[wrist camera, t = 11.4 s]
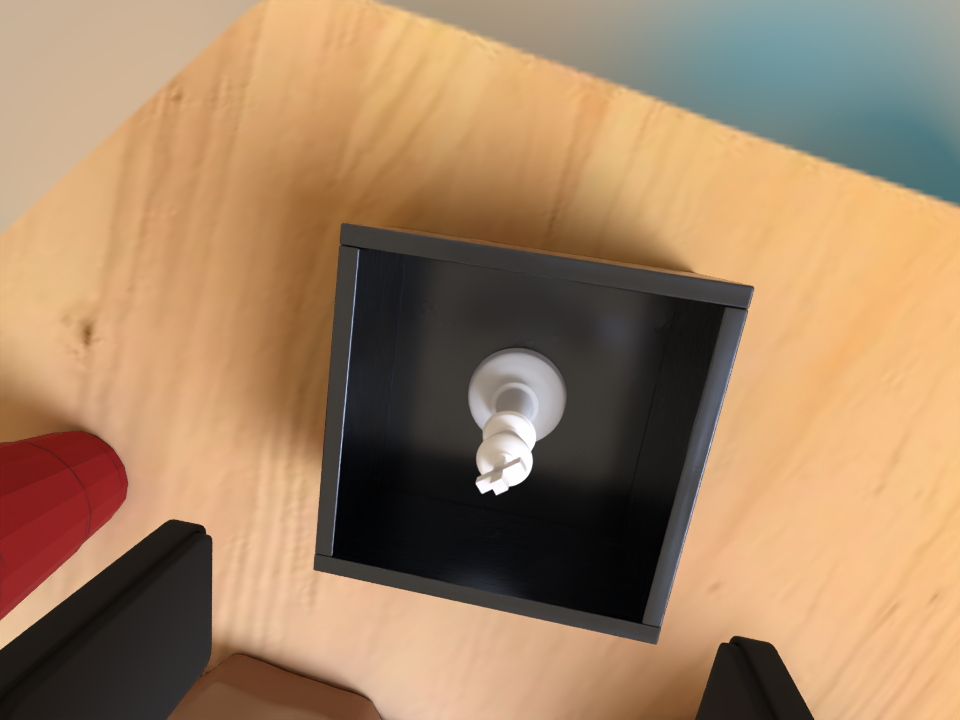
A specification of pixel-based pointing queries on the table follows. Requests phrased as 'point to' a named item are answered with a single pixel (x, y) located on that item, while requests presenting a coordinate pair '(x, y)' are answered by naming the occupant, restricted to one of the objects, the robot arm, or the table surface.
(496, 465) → the chess piece
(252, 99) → the table surface
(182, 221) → the table surface
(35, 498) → the plastic cup
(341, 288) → the dark grey open box
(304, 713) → the plant
